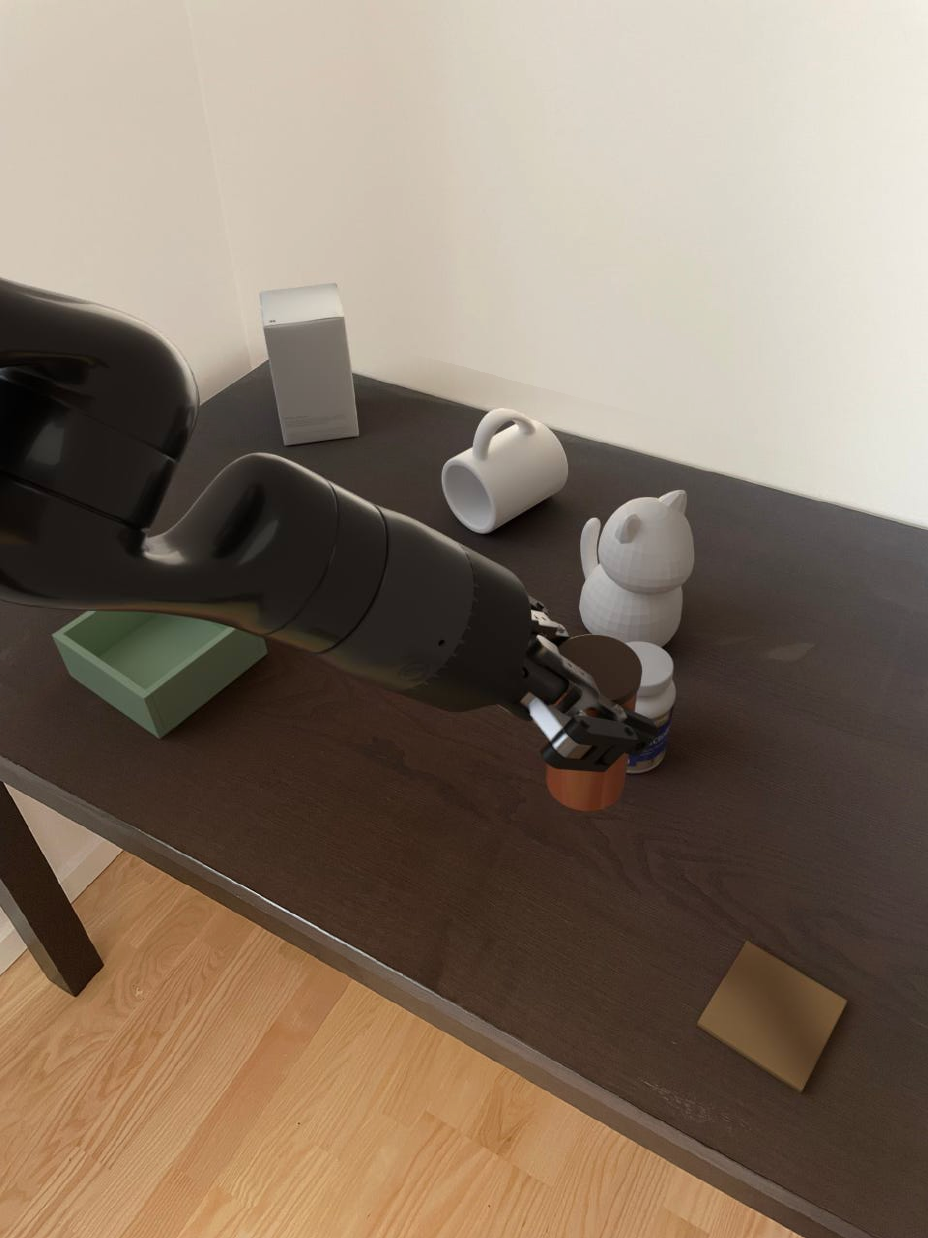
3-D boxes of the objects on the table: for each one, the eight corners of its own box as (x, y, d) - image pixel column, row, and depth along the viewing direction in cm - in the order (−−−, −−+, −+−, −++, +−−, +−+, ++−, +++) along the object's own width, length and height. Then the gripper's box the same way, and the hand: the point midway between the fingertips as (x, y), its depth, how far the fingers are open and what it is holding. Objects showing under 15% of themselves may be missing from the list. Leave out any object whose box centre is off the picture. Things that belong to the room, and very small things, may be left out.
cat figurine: (631, 686, 83) (648, 551, 73) (540, 607, 91) (543, 475, 80) (706, 641, 87) (732, 506, 77) (612, 569, 94) (624, 438, 84)
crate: (159, 739, 81) (143, 698, 77) (70, 675, 86) (51, 634, 83) (267, 653, 88) (257, 612, 84) (178, 599, 93) (165, 558, 90)
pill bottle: (646, 787, 76) (660, 702, 69) (581, 757, 78) (588, 671, 71) (677, 738, 79) (693, 652, 72) (614, 711, 81) (623, 625, 74)
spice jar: (598, 827, 57) (611, 715, 50) (528, 786, 59) (530, 673, 52) (641, 771, 60) (659, 658, 53) (572, 734, 62) (581, 621, 55)
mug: (567, 504, 102) (572, 404, 94) (496, 548, 97) (495, 446, 89) (512, 472, 107) (513, 374, 99) (442, 512, 102) (436, 412, 94)
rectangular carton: (361, 437, 113) (345, 316, 103) (284, 447, 112) (260, 326, 102) (353, 397, 119) (338, 280, 109) (280, 407, 118) (257, 289, 108)
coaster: (800, 1094, 59) (802, 1091, 58) (696, 1025, 62) (697, 1022, 62) (845, 1004, 63) (847, 1000, 62) (745, 943, 66) (747, 940, 66)
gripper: (529, 653, 38) (739, 749, 50) (404, 464, 48) (603, 581, 59) (412, 780, 40) (638, 844, 52) (315, 575, 50) (523, 667, 62)
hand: (618, 703), depth 55 cm, fingers closed on spice jar, 5 cm apart
